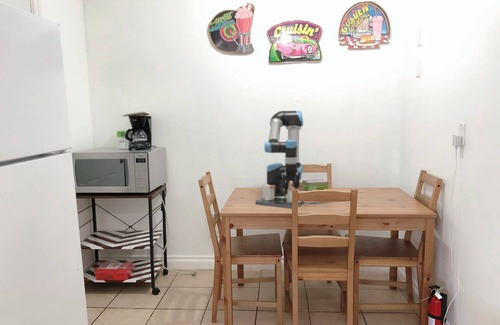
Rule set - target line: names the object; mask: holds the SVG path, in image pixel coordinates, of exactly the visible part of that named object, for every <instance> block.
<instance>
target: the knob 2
mask: <svg viewBox="0 0 500 325" xmlns="http://www.w3.org/2000/svg"><path fill="white" fill-rule="evenodd" d="M288 189H289V199H287V202H288V203H292V190H295V187H293V185H289V186H288Z"/></svg>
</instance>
